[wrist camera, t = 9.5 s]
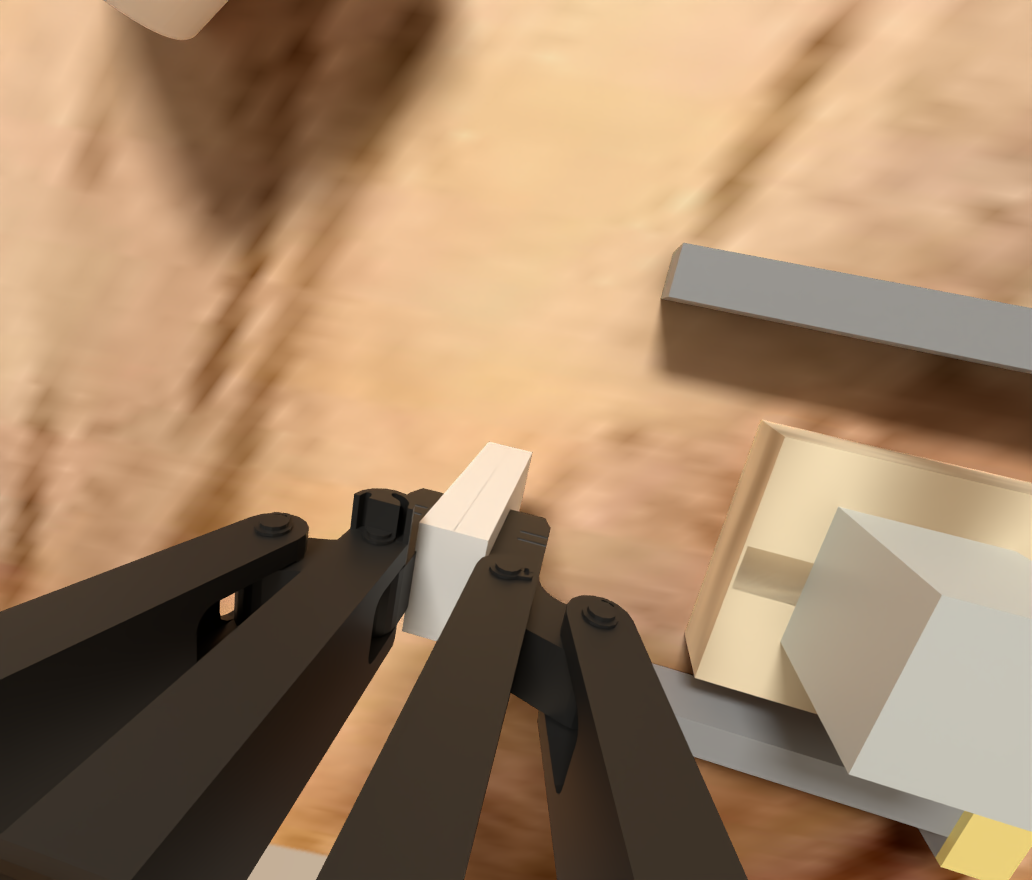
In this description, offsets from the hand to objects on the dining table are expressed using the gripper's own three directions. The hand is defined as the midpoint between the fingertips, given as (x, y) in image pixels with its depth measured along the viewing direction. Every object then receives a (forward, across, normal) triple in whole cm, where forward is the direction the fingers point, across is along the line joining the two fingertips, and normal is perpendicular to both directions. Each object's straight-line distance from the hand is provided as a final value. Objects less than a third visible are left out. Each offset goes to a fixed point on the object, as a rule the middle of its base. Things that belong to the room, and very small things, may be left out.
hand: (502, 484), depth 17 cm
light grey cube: (0, +13, -1) cm, 13 cm away
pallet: (+3, +13, -1) cm, 13 cm away
